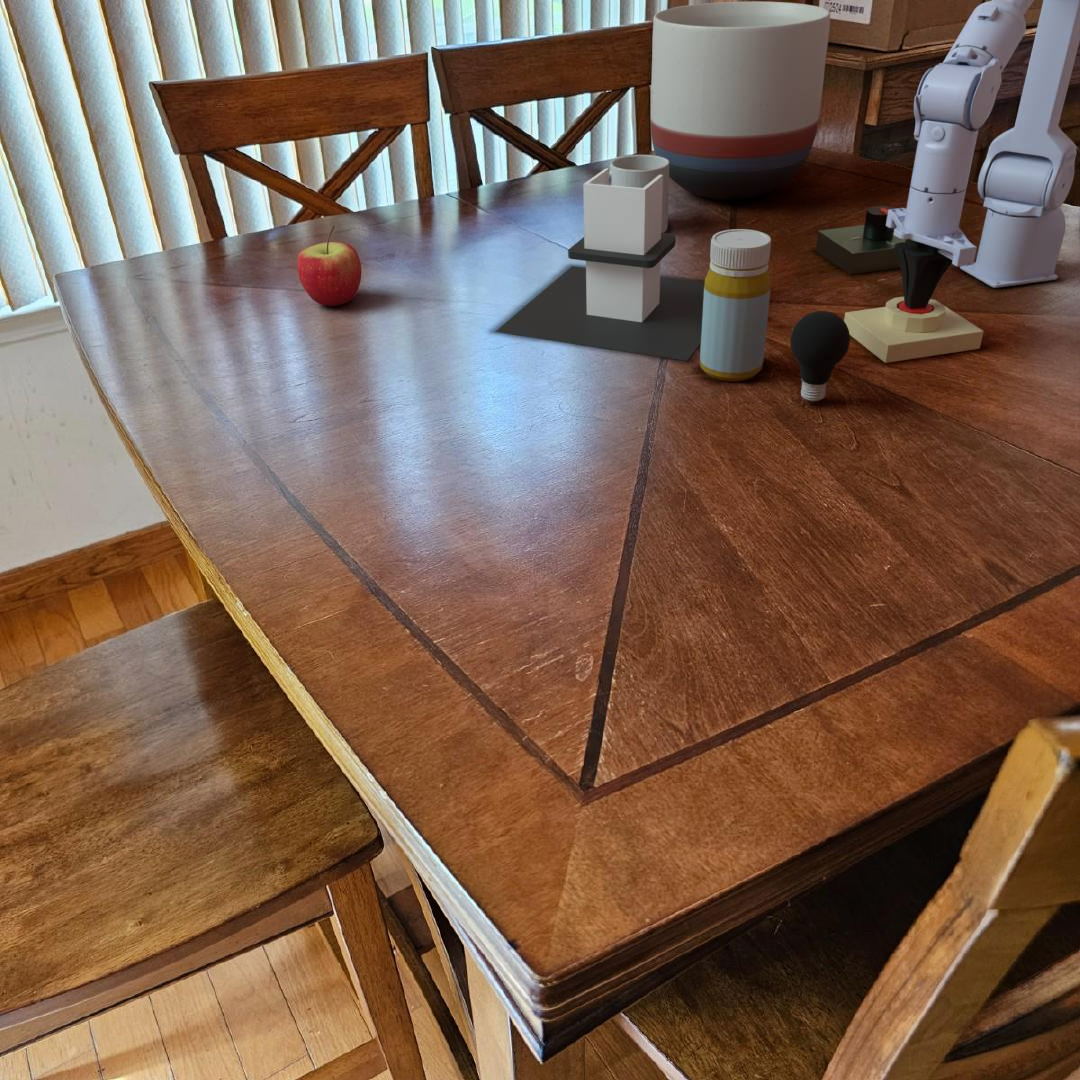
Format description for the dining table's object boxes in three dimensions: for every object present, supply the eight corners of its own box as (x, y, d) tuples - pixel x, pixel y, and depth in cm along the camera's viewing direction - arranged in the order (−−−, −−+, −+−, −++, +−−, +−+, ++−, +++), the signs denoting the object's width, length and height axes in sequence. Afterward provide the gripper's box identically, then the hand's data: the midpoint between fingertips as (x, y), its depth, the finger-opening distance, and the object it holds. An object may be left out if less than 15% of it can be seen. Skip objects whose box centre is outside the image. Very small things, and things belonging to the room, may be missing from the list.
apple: (379, 299, 133) (368, 226, 128) (328, 319, 128) (315, 243, 123) (341, 286, 138) (330, 214, 132) (291, 304, 133) (277, 231, 127)
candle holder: (743, 287, 132) (754, 160, 122) (687, 360, 114) (694, 219, 105) (572, 266, 141) (569, 146, 131) (495, 331, 123) (485, 198, 114)
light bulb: (841, 417, 102) (855, 326, 96) (783, 413, 103) (793, 323, 97) (839, 391, 106) (852, 303, 101) (783, 388, 108) (793, 300, 102)
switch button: (918, 312, 117) (921, 298, 116) (935, 324, 114) (938, 309, 113) (890, 316, 116) (893, 302, 115) (907, 328, 113) (909, 313, 112)
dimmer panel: (897, 240, 144) (901, 219, 142) (935, 263, 136) (940, 240, 134) (815, 251, 142) (818, 229, 140) (849, 274, 134) (853, 252, 132)
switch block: (931, 316, 122) (937, 285, 119) (979, 348, 114) (987, 316, 111) (842, 329, 119) (847, 297, 117) (885, 363, 111) (891, 330, 109)
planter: (831, 180, 170) (854, 4, 154) (776, 226, 151) (796, 31, 136) (688, 164, 182) (695, -2, 166) (621, 205, 163) (622, 23, 148)
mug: (677, 224, 154) (679, 158, 148) (649, 242, 148) (650, 174, 142) (616, 215, 159) (616, 150, 153) (586, 232, 153) (585, 166, 147)
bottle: (766, 360, 113) (779, 230, 105) (756, 386, 108) (769, 252, 99) (706, 353, 115) (714, 225, 107) (693, 379, 110) (701, 247, 101)
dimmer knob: (857, 232, 138) (861, 205, 136) (883, 229, 139) (887, 202, 137) (872, 241, 135) (876, 214, 133) (898, 238, 136) (903, 210, 134)
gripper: (870, 173, 111) (853, 288, 119) (942, 209, 100) (918, 335, 108) (926, 166, 113) (905, 281, 120) (1004, 202, 101) (976, 326, 109)
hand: (915, 306), depth 114 cm, fingers closed, pressing on switch button
